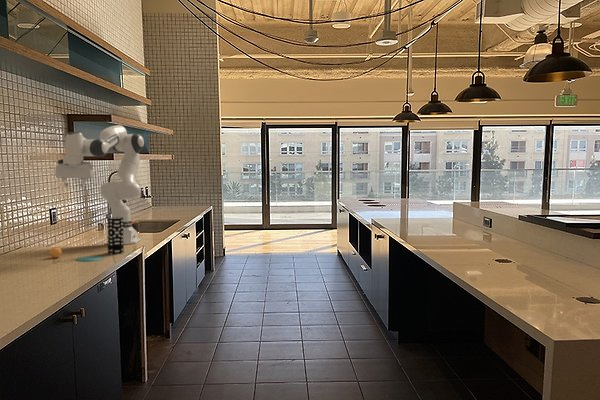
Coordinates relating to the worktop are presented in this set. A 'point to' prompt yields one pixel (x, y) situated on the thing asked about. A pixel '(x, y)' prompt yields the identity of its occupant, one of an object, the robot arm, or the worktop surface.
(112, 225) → the spotted tube
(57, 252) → the ball
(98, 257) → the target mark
